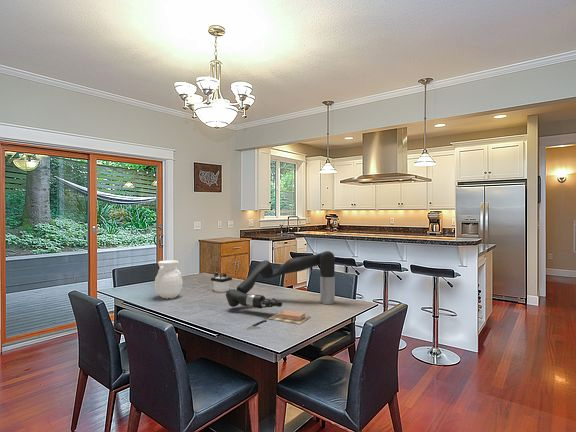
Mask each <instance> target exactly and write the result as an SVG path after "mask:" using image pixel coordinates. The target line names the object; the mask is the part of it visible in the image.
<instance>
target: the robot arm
mask: <svg viewBox="0 0 576 432" xmlns="http://www.w3.org/2000/svg"><path fill="white" fill-rule="evenodd" d="M334 254H335V253H333V252H331V251H329V250H325V251H323V252H320V253H315V254H313V255H312V254H311V255H304V256H297V257H293V258H289V259H287V260H286V261H285V263H283V264H282V265H281V266H279V267H277V268H273V267H272V264H271V262H270V261H269V260H263V261H261V262H259V263H258V264H257V265H256V266H255V267H254V269H253V270H252V271H251V272H250V273H249V275H248V276H247V277H246V278H245V279H244V280H243V281H242V282H241V283H240V284H238V285H237V287H236V289H233V288H232V289H231V288H230V289H229V291H226V292H225V298H226V300H227V302H228V305H229V306H230V307H232V308H234V307H237V306H238V305H241V306H245V307H249V308H255V309H263V308H265V309H266V308H273V307H279V308H281V307H282V306H283V302H280V301H278V300H277V299H275V298H274V297H271V298H266V297H265V295H264V294H255V293H251V294H250V293H249V292H250V291H251V290H252V289H253V288H254V286H255V284H256V282H257V279H258V277H259V276H260V278H261V279H263V280H266V279H271V278H276V277H279V276H282V275H287V274H290V273H297V272H302V271H306V270H308V269H311V268H314V267H316V266H317V267H318V266H319V272H320V273H319V276H320V277H319V278H320V280H319V281H320V284H319V285H320V287H319V288H320V294H319V295H320V296H319V297H320V299H319V301H320V304H322V305H333V304H335V302H336V301H335V300H336V299H335V290H336V289H335V285H336V283H335V281H336V280H335V277H336V276H335V270H336V269H335V263H336V262H335V261H336V260H335V258H336V257H335V255H334Z"/></svg>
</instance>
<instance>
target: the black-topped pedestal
mask: <svg viewBox="0 0 576 432" xmlns="http://www.w3.org/2000/svg"><path fill="white" fill-rule="evenodd" d="M210 281H211V282H213V291H214V292H218V293H226V292H227V291H229V290H230V281H233V276H228V274H227V273H224V272H222V273H221V274H220V273H219V272H217V273H213V276H212V277H210Z"/></svg>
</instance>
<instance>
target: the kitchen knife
mask: <svg viewBox="0 0 576 432" xmlns="http://www.w3.org/2000/svg"><path fill="white" fill-rule="evenodd" d="M267 322H268V320H266V319H262V320H261V321H259V322H257V323H254V324H252V325H249V326H248V327H246V328H247V330H246V331H250V330H251V331H252V330H260V329H262V327H259V325H261V324H263V323H267Z"/></svg>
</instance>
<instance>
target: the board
mask: <svg viewBox="0 0 576 432" xmlns="http://www.w3.org/2000/svg"><path fill="white" fill-rule="evenodd" d="M310 318H311V315H305V318H303V319H302V320H300V321H295V320H289V319H282V318H279V317H278V313H276V314H274V315H272V316H269V317H268V320H269V321H275V322H283V323H289V324H295V325H301V324H302V323H304V322H305V321H307V320H308V319H310Z"/></svg>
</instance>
